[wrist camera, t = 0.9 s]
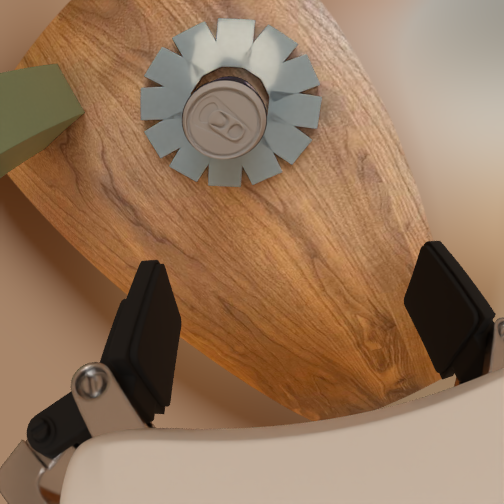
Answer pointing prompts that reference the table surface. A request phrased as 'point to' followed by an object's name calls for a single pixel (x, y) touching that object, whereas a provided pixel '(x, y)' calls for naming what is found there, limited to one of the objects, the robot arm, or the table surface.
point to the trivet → (240, 56)
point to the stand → (33, 112)
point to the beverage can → (224, 118)
